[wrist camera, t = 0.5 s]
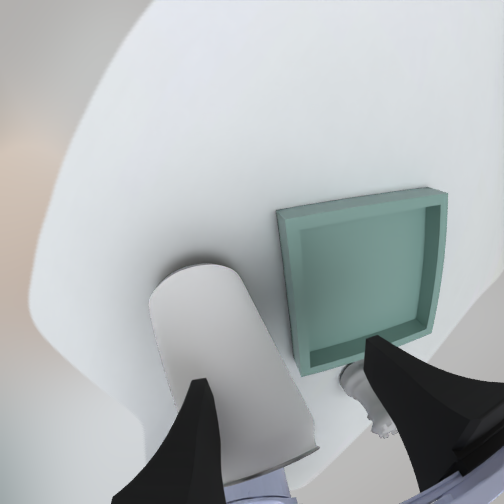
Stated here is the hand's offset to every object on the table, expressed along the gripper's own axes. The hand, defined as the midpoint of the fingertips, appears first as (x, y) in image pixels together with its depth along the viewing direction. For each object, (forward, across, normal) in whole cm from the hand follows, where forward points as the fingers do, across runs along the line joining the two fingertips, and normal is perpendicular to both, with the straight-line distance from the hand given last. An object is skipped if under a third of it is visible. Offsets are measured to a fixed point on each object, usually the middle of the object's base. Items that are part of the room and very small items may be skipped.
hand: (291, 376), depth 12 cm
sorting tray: (+10, -8, +2) cm, 13 cm away
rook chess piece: (+10, -8, +13) cm, 18 cm away
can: (+8, +4, -1) cm, 10 cm away
